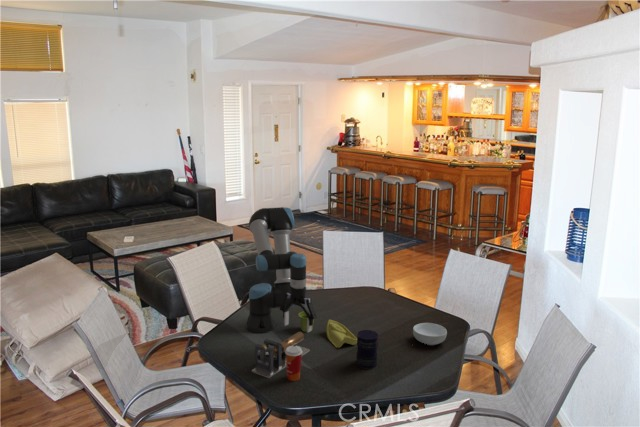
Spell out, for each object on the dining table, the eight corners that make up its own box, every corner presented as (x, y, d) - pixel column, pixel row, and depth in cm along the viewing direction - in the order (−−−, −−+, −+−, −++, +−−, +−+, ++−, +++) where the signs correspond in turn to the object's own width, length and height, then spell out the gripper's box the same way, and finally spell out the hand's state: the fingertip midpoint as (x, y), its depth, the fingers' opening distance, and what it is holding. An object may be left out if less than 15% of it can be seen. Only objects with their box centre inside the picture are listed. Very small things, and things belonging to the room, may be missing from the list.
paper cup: (284, 373, 249) (284, 345, 246) (301, 373, 250) (302, 344, 247) (285, 383, 242) (285, 353, 238) (302, 382, 242) (302, 353, 239)
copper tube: (296, 339, 273) (296, 330, 272) (304, 341, 271) (304, 332, 270) (271, 354, 257) (271, 345, 256) (279, 357, 254) (279, 348, 253)
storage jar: (371, 371, 253) (372, 341, 250) (352, 365, 258) (353, 335, 255) (380, 362, 261) (382, 333, 258) (362, 356, 266) (363, 328, 263)
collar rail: (293, 345, 276) (293, 320, 273) (309, 350, 271) (310, 325, 268) (251, 371, 250) (251, 344, 247) (268, 378, 245) (268, 350, 242)
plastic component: (359, 341, 278) (344, 336, 273) (353, 353, 278) (337, 349, 273) (341, 323, 295) (326, 318, 290) (335, 335, 295) (320, 330, 290)
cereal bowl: (449, 338, 287) (450, 326, 286) (442, 352, 272) (442, 338, 271) (417, 332, 294) (418, 319, 293) (408, 345, 279) (409, 332, 278)
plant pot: (318, 327, 297) (318, 312, 295) (312, 334, 289) (312, 319, 287) (301, 324, 300) (302, 309, 298) (295, 331, 292) (295, 316, 290)
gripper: (272, 283, 267) (272, 324, 271) (315, 294, 253) (314, 337, 258) (282, 279, 273) (282, 319, 278) (324, 289, 260) (323, 331, 264)
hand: (297, 328), depth 268 cm, fingers open, 13 cm apart
